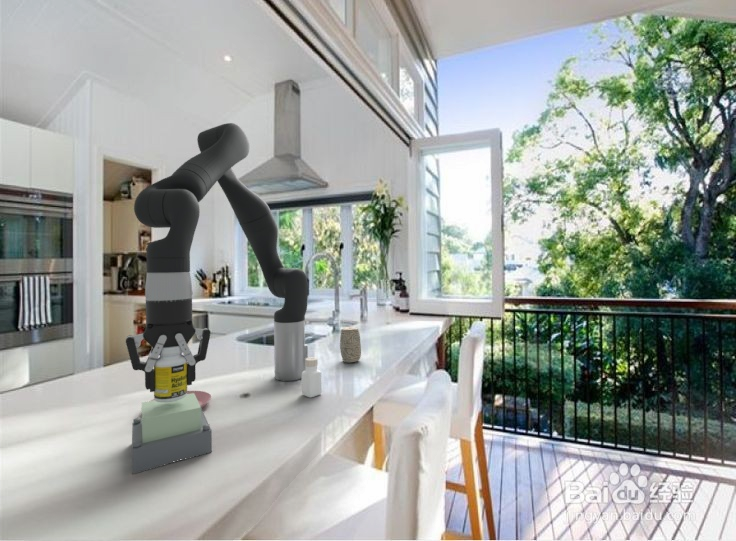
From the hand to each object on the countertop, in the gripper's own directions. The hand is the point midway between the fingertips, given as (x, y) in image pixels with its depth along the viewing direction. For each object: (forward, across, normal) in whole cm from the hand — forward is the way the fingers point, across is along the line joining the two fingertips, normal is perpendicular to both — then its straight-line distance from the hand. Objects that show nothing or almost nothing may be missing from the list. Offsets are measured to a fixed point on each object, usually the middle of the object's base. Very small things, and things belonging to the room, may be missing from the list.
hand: (170, 387), depth 65 cm
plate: (+12, -3, -20) cm, 23 cm away
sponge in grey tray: (+11, 0, 0) cm, 11 cm away
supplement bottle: (+2, 0, 0) cm, 2 cm away
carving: (+12, -58, -32) cm, 67 cm away
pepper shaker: (+12, -33, -10) cm, 36 cm away
